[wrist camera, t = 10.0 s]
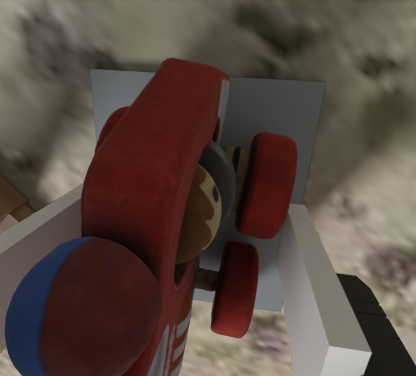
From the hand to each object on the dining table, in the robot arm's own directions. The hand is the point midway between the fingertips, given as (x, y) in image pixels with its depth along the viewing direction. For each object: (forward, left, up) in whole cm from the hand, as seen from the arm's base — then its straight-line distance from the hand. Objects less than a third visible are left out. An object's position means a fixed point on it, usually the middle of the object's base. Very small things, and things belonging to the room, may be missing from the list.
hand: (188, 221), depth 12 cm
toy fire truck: (0, 0, -2) cm, 2 cm away
